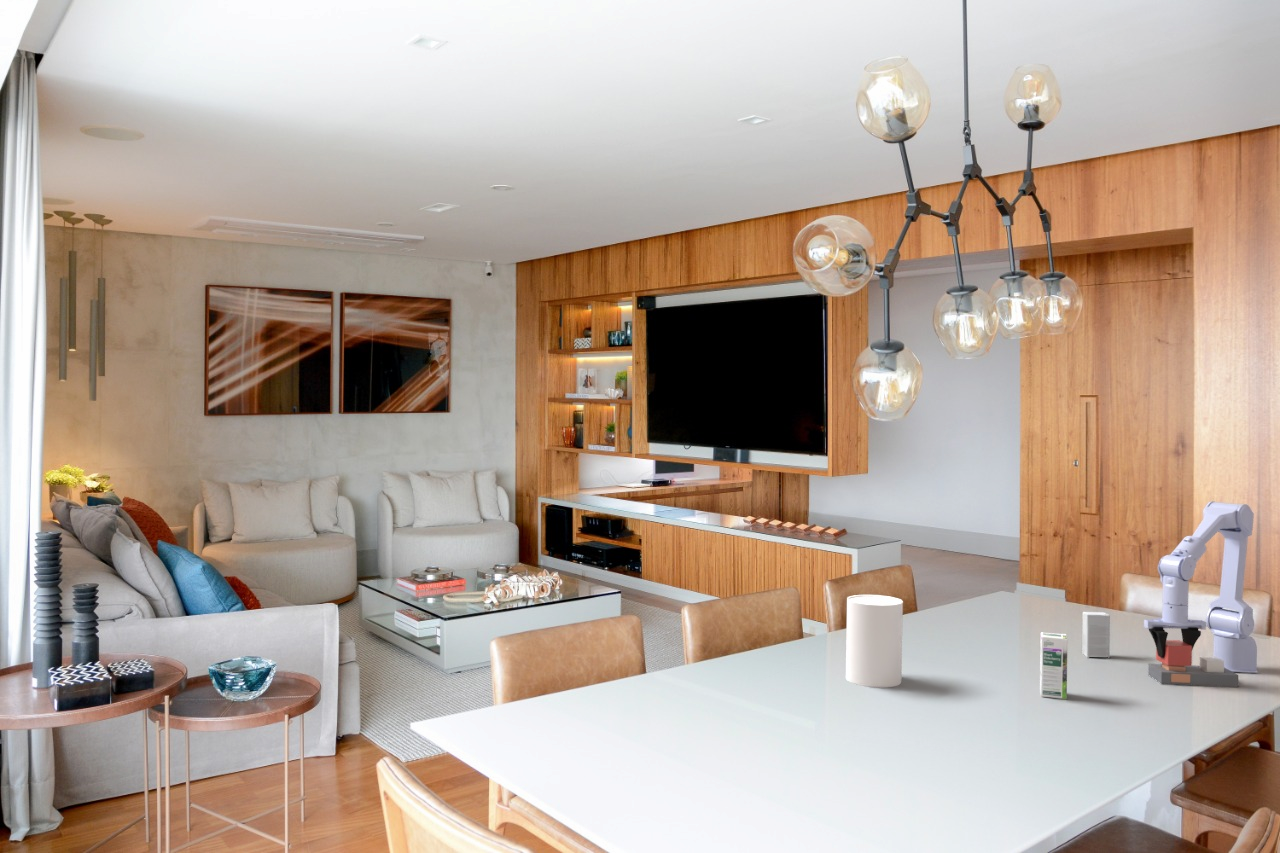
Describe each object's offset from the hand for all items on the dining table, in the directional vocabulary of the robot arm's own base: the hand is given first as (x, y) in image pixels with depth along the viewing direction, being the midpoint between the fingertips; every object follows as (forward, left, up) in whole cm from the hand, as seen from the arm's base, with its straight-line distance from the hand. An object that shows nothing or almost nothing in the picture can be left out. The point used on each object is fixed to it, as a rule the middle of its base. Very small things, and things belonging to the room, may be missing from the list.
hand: (1174, 657), depth 246 cm
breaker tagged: (0, 0, -5) cm, 5 cm away
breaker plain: (-9, 0, -4) cm, 10 cm away
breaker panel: (-4, 0, -6) cm, 7 cm away
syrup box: (+35, +18, -6) cm, 39 cm away
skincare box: (+12, -22, -6) cm, 26 cm away
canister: (+76, +11, -6) cm, 77 cm away
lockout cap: (0, 0, -1) cm, 1 cm away
